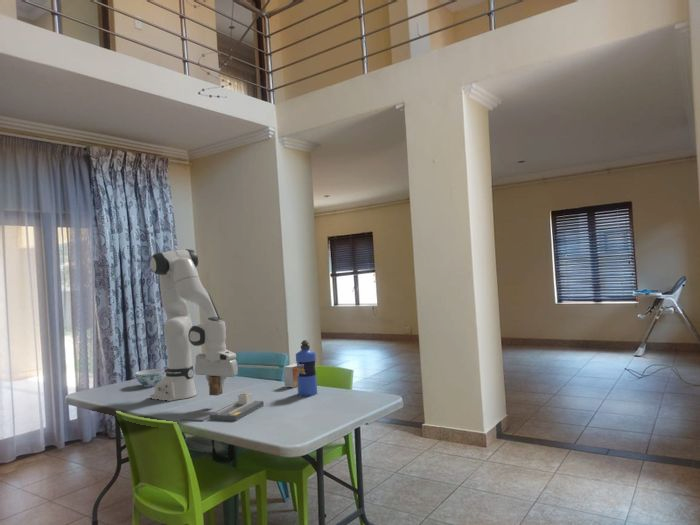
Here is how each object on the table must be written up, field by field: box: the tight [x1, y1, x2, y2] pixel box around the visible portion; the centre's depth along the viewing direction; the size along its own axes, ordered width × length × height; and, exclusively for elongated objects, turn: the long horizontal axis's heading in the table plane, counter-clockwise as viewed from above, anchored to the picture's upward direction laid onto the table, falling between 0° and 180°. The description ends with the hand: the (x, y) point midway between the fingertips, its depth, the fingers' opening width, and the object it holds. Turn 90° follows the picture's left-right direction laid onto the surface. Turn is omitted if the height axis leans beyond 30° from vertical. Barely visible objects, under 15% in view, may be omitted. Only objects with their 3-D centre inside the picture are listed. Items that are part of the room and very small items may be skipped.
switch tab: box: [237, 391, 253, 405], centre depth 211 cm, size 4×4×4 cm
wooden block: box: [208, 376, 223, 397], centre depth 216 cm, size 4×4×8 cm
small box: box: [283, 363, 298, 389], centre depth 248 cm, size 8×6×10 cm
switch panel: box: [209, 400, 265, 422], centre depth 205 cm, size 12×22×3 cm, turn 161°
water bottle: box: [295, 339, 318, 397], centre depth 231 cm, size 9×9×25 cm
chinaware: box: [134, 368, 165, 388], centre depth 268 cm, size 15×15×8 cm
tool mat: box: [179, 410, 215, 422], centre depth 202 cm, size 11×11×1 cm
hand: (215, 385), depth 216 cm, fingers closed on wooden block, 4 cm apart
